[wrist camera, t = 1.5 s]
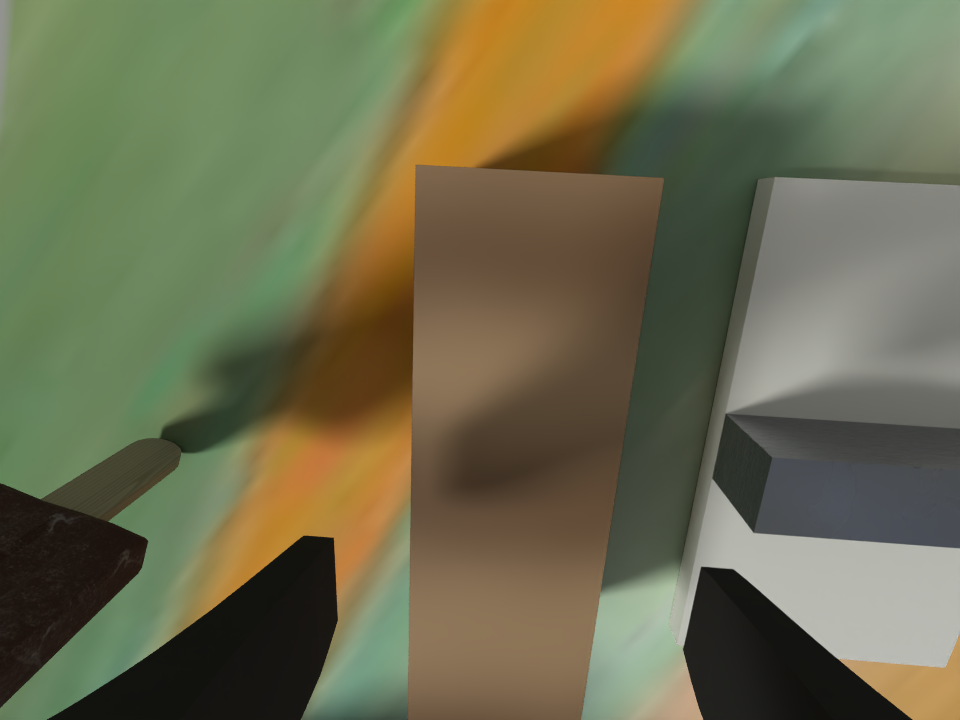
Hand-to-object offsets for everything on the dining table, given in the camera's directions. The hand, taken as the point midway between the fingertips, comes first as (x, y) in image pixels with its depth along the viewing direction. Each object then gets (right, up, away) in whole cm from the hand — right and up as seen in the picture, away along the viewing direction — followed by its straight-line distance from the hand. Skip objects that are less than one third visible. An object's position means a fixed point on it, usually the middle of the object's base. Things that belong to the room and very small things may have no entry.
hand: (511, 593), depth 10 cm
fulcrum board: (+12, +2, +8) cm, 15 cm away
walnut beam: (+1, +3, +8) cm, 9 cm away
